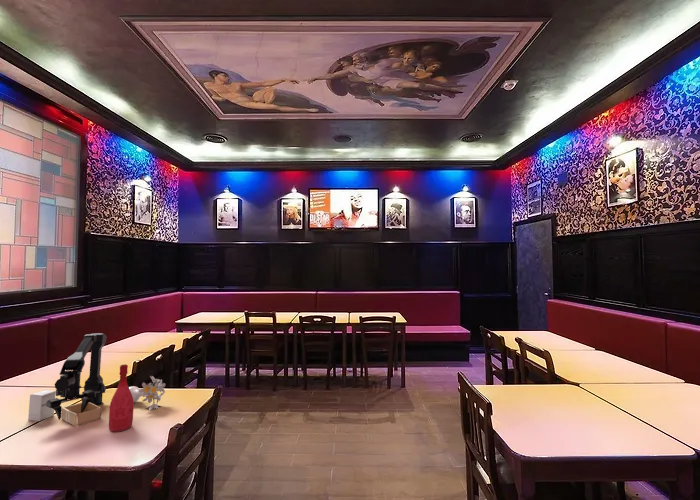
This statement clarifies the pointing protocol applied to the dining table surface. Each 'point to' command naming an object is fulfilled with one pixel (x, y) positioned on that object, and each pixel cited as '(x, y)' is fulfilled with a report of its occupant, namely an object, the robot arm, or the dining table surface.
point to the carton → (85, 413)
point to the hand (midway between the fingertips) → (70, 416)
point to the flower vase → (148, 392)
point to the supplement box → (40, 405)
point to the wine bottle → (121, 405)
